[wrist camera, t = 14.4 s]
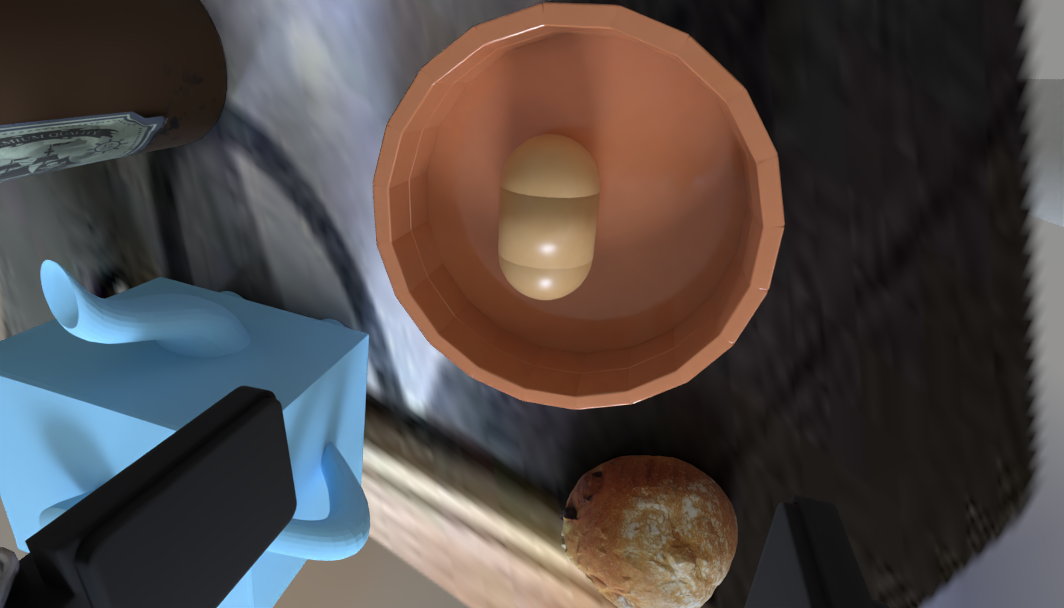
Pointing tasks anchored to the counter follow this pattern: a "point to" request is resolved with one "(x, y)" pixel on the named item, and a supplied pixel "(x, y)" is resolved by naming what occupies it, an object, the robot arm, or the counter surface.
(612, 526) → the bread roll
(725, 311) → the terracotta dish
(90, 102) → the olive oil
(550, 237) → the potato
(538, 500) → the counter surface
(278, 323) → the light blue teapot
